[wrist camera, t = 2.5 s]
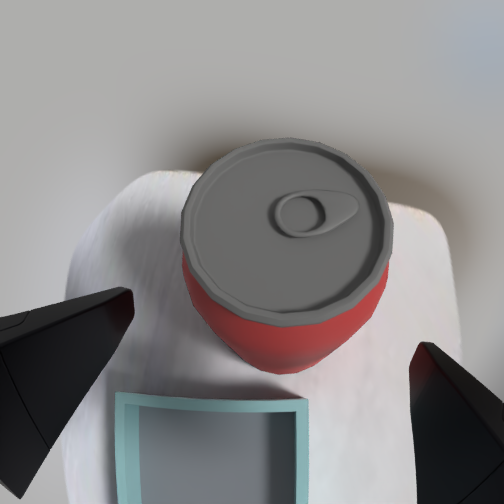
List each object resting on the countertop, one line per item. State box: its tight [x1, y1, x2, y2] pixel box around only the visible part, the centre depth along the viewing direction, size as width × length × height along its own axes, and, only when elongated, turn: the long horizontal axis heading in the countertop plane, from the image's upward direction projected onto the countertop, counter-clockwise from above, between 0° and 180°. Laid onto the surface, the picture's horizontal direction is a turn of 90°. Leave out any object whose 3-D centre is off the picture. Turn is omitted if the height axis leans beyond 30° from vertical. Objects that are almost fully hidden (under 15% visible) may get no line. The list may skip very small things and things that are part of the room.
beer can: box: [180, 138, 394, 375], centre depth 13 cm, size 7×7×12 cm
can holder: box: [115, 392, 309, 504], centre depth 14 cm, size 10×10×3 cm
